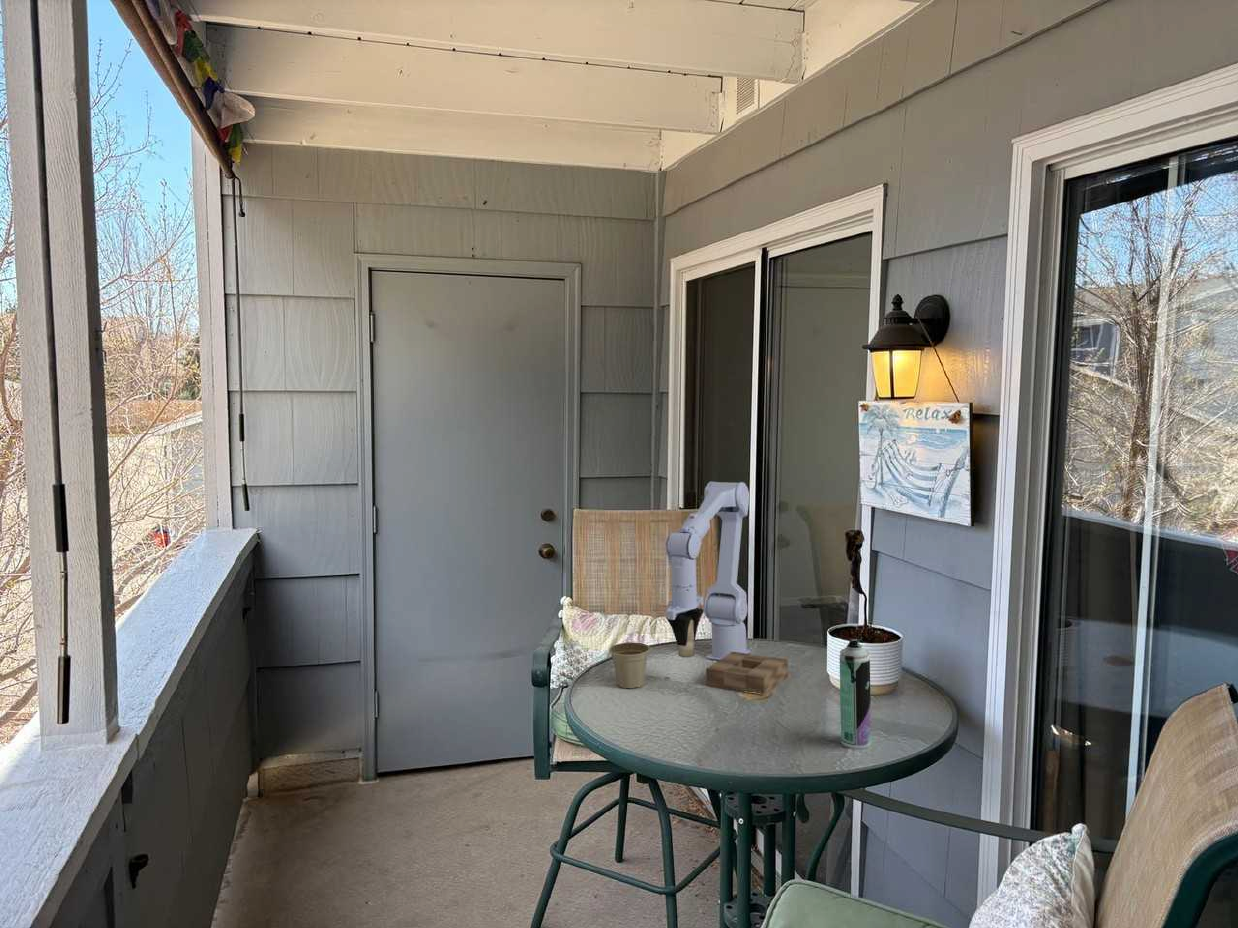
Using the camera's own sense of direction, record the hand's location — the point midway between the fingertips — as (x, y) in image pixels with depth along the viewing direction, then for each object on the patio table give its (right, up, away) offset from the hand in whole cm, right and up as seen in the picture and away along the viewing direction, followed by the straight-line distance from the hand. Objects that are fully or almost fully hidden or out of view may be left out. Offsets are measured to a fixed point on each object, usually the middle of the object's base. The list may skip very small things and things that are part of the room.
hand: (686, 642), depth 195 cm
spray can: (+29, -12, -36) cm, 47 cm away
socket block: (+14, -9, 0) cm, 17 cm away
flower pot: (-13, -10, +1) cm, 16 cm away
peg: (0, -3, 0) cm, 3 cm away
